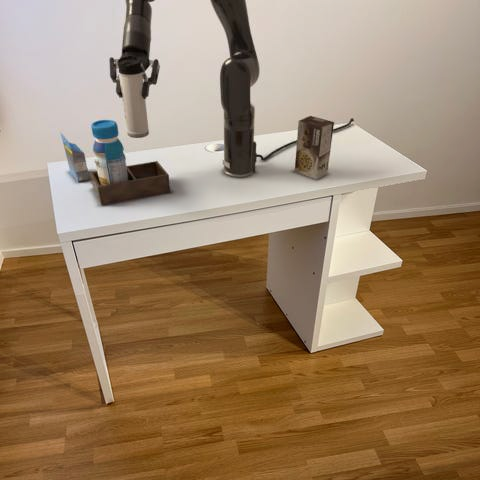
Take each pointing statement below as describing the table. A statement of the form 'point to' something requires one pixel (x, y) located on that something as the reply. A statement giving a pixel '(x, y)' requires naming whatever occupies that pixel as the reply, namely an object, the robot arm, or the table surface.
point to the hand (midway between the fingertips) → (132, 96)
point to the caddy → (133, 184)
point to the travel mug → (133, 96)
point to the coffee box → (313, 146)
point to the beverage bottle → (108, 153)
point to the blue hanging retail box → (76, 160)
